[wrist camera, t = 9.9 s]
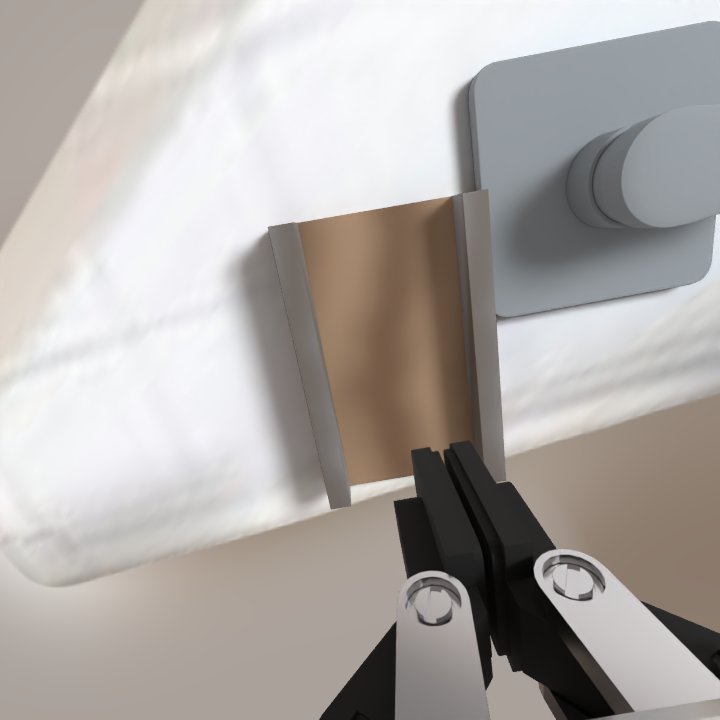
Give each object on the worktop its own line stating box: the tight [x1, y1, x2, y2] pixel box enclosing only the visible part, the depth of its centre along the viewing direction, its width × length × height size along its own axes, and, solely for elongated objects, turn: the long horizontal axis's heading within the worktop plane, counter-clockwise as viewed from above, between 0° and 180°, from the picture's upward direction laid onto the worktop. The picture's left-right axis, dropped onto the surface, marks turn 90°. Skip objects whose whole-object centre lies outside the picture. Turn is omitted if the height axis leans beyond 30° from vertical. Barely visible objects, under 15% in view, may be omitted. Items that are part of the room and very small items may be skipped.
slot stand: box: [268, 189, 506, 509], centre depth 23 cm, size 11×16×3 cm
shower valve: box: [468, 21, 720, 317], centre depth 19 cm, size 12×6×15 cm
